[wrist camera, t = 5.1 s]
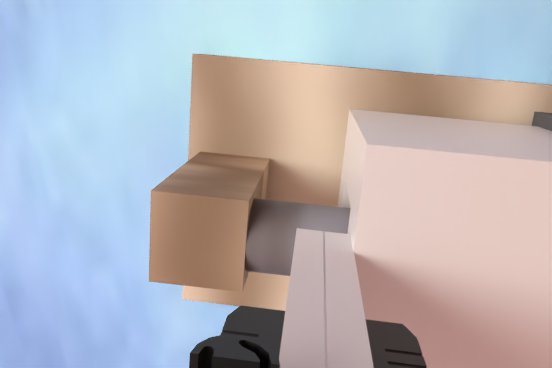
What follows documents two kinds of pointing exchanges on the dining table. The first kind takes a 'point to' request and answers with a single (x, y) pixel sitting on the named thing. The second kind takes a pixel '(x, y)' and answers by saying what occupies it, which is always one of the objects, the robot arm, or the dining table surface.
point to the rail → (285, 164)
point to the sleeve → (453, 234)
